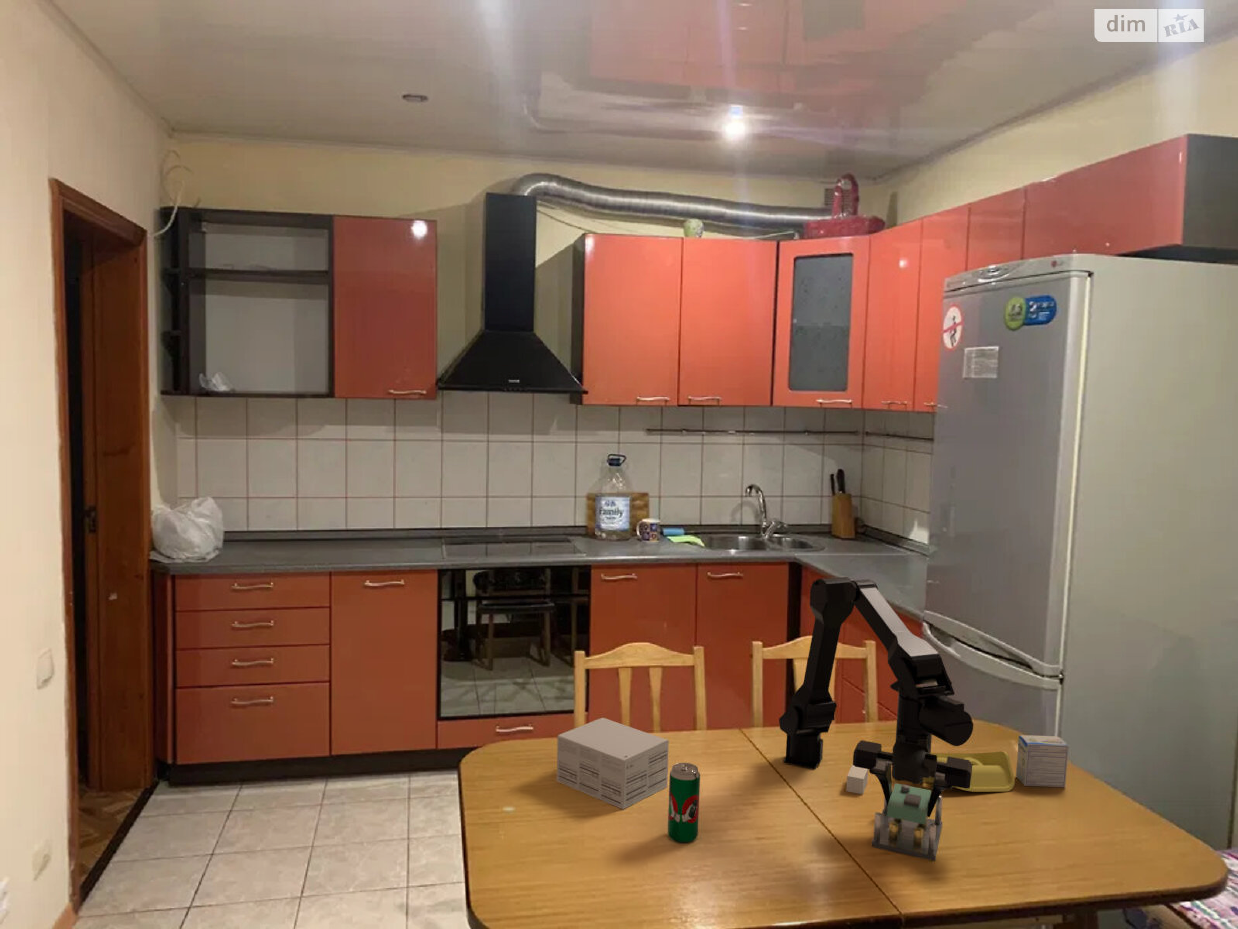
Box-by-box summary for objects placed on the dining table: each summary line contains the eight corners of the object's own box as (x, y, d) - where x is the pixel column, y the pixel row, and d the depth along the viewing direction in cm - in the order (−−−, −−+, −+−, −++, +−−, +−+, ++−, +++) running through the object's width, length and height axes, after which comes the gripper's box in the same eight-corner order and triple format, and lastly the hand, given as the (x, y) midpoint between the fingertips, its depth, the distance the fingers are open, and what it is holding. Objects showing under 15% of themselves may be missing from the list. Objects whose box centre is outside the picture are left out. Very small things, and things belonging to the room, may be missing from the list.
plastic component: (979, 753, 184) (1011, 750, 175) (985, 792, 181) (1017, 791, 172) (892, 753, 179) (920, 750, 170) (896, 792, 177) (925, 792, 168)
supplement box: (668, 787, 170) (670, 739, 169) (623, 811, 160) (624, 760, 159) (602, 761, 181) (603, 715, 180) (555, 781, 171) (556, 733, 170)
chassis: (871, 846, 150) (873, 814, 149) (882, 813, 162) (884, 783, 161) (935, 861, 146) (937, 828, 145) (942, 825, 158) (944, 795, 157)
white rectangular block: (846, 791, 170) (847, 775, 170) (851, 780, 175) (852, 765, 175) (862, 794, 169) (863, 779, 169) (867, 783, 174) (868, 768, 174)
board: (887, 816, 151) (887, 800, 150) (894, 794, 159) (895, 779, 159) (924, 824, 148) (925, 808, 148) (930, 801, 156) (931, 786, 156)
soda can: (701, 833, 153) (703, 764, 152) (693, 847, 148) (696, 776, 147) (672, 827, 155) (674, 759, 153) (663, 841, 150) (666, 771, 149)
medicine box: (1055, 778, 178) (1058, 735, 178) (1066, 788, 174) (1069, 745, 173) (1015, 776, 179) (1018, 734, 178) (1024, 787, 174) (1027, 743, 173)
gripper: (849, 729, 148) (844, 820, 150) (971, 751, 141) (964, 847, 142) (860, 707, 159) (856, 793, 160) (975, 727, 151) (968, 816, 153)
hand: (908, 812), depth 154 cm, fingers closed on board, 6 cm apart
